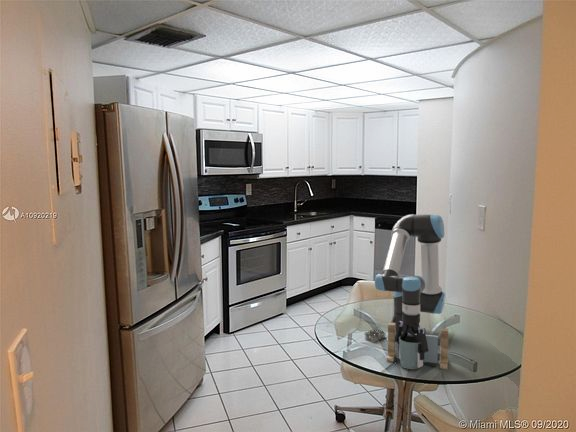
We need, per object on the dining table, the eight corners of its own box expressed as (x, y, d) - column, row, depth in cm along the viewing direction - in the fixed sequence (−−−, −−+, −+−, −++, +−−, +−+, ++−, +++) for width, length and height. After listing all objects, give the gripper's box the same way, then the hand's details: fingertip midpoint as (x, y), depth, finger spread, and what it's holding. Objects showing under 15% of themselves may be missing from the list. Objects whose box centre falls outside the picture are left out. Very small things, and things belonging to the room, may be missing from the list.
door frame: (390, 352, 209) (390, 320, 208) (448, 360, 199) (448, 326, 198) (386, 360, 200) (386, 326, 198) (447, 369, 190) (447, 333, 189)
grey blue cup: (394, 362, 196) (394, 336, 194) (412, 358, 200) (412, 332, 199) (409, 371, 186) (409, 344, 185) (428, 367, 191) (428, 340, 189)
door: (396, 355, 205) (396, 330, 204) (439, 360, 198) (440, 335, 197) (395, 357, 202) (395, 332, 201) (439, 363, 195) (439, 337, 194)
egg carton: (374, 343, 223) (374, 335, 222) (362, 339, 228) (362, 331, 228) (387, 337, 229) (387, 330, 229) (375, 334, 235) (375, 326, 235)
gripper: (386, 308, 198) (386, 356, 200) (426, 321, 180) (425, 373, 182) (397, 305, 202) (397, 352, 204) (438, 317, 184) (437, 369, 186)
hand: (410, 362), depth 193 cm, fingers closed on grey blue cup, 9 cm apart
